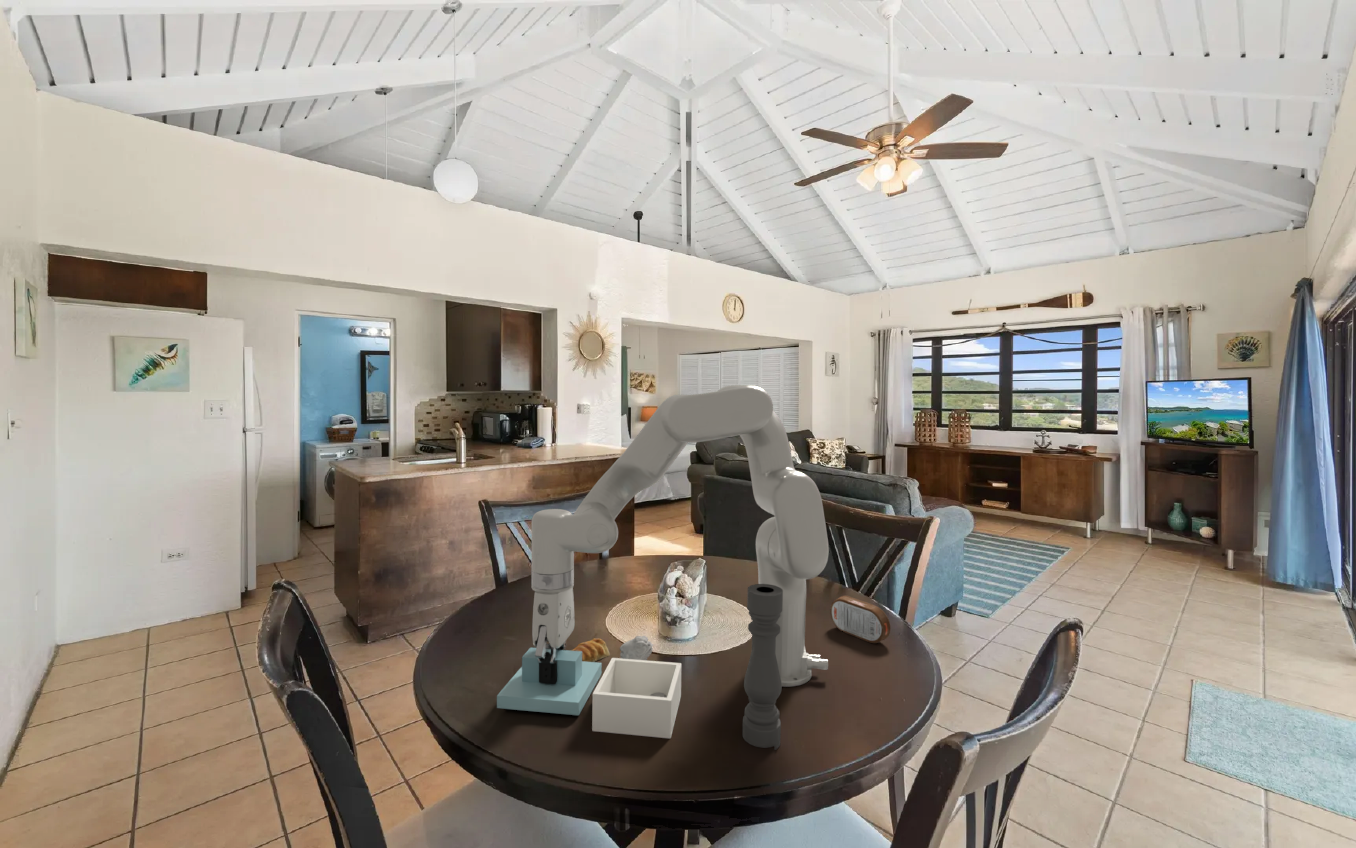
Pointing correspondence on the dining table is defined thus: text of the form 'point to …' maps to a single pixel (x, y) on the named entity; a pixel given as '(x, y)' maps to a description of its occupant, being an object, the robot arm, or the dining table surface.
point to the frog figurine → (636, 648)
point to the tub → (637, 698)
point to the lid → (551, 685)
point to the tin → (860, 619)
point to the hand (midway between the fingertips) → (552, 675)
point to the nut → (658, 694)
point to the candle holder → (763, 667)
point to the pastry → (593, 650)
